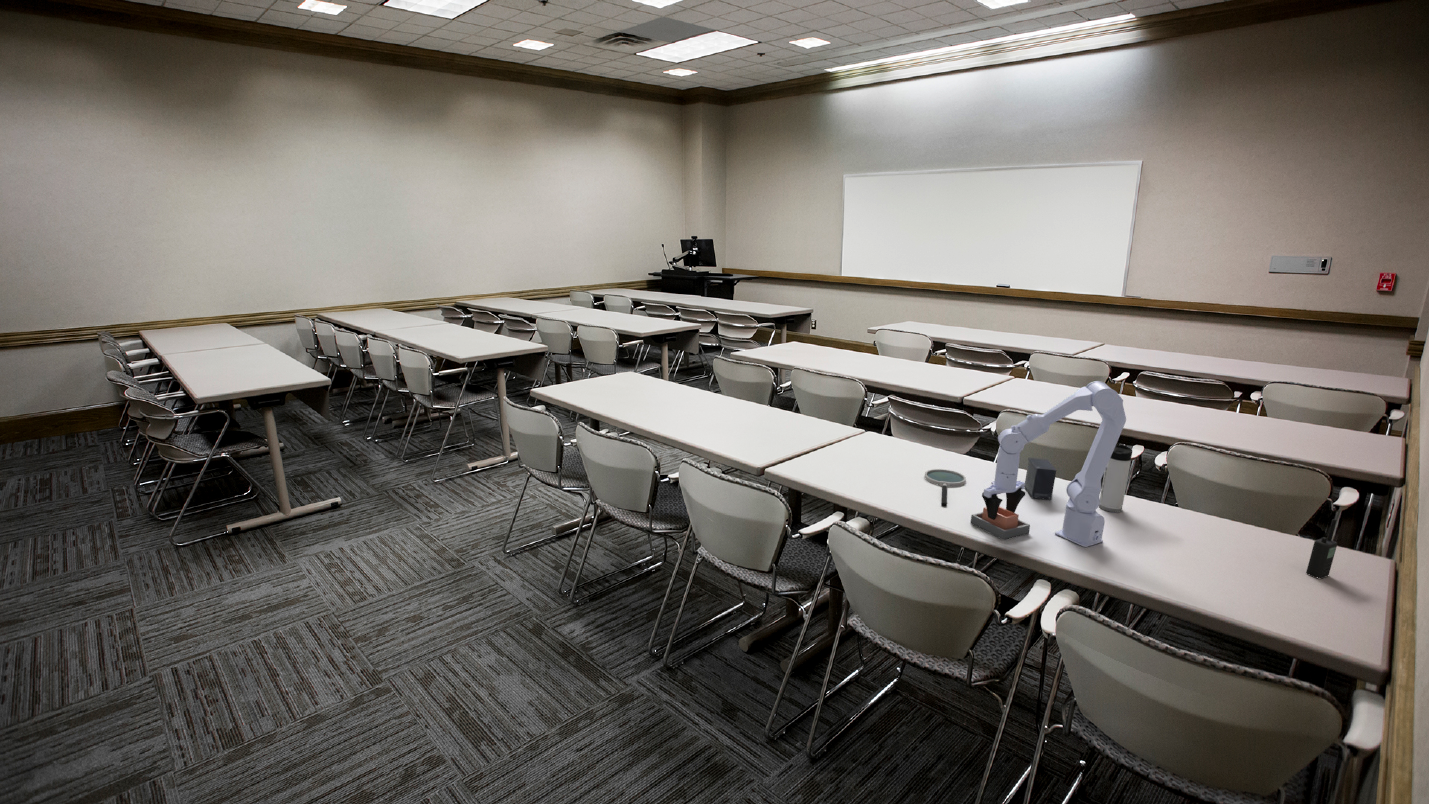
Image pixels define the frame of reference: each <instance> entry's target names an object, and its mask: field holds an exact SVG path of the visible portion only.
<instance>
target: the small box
mask: <svg viewBox="0 0 1429 804" xmlns="http://www.w3.org/2000/svg"><path fill="white" fill-rule="evenodd" d="M1027 460H1028V461H1027V468H1026V474H1025V480H1024V483H1025V487H1024V490H1025V491H1026V492H1027V493H1028V496H1029V497H1030V498H1031V499H1038V500H1047V501H1052V499H1053V492H1054V487H1055V481H1056V475H1057V469H1056V468H1055V466H1054V465H1053V464H1052V463H1051V461H1050V460H1049V459H1046V458H1045V459H1044V458H1036V457H1035V458H1034V457H1028V459H1027Z"/></svg>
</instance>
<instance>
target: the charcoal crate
mask: <svg viewBox="0 0 1429 804" xmlns="http://www.w3.org/2000/svg"><path fill="white" fill-rule="evenodd" d="M982 516H983V511H982V512H977V513H973V514H971V517H970V524H971V525H972V526H975V527H976V528H978V529H981V530H982V531H985V532H986V533H988V534H989V535H993V537H996V538H997V539H1000V540H1001V541H1006V540H1011V539H1014V538H1018V537H1022V536H1026V535H1029V533H1030V529H1031V524H1030V523H1028V522H1025V521H1023V520H1020V519H1019V518H1018V524H1017V527H1015V528H1011V529H1007V530H1003V529H1001V528H999V527H997V526H995V525H993V524H991V523H989V522H987V521H985V520H983V519H982Z"/></svg>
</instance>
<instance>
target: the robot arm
mask: <svg viewBox="0 0 1429 804" xmlns="http://www.w3.org/2000/svg"><path fill="white" fill-rule="evenodd" d="M1093 407H1094V408H1095V410H1096V411H1097V413H1098V415H1099V416H1100V417H1101V422H1100V424H1099V427H1098V430H1097V432H1096V434H1095V437H1094V438H1093V442H1092V443H1091V445H1090V449H1089V450H1088V453H1087V455H1086V459H1085V460H1084V463H1083V464H1082V465H1083V466H1082V468H1081V470H1080V471H1079V472H1078V473H1076V474H1075V475H1074V478H1073V480H1071V481H1070V482H1069V483H1068V485H1067V486H1066V494H1067V496H1068V497H1069V498H1068V500H1067V501H1066V505H1065V510H1064V511H1065V512H1064V517H1063V523H1062V528H1061V529H1060V530H1056V531H1055V532H1054V534H1055V535H1057V536H1060V537H1061V538H1063V539H1066V540H1067V541H1070V542H1072V543H1075V544H1077V545H1079V546H1081V547H1084V548H1087V547H1090V546H1093V545H1096V544H1100V543H1103V541H1104V540H1103V533H1104V529H1105V521H1106V520H1105V517H1104V516H1103V515H1102V514H1100V513H1099V512H1098V511H1096V510H1097V509H1098V508H1099V504H1100V495H1101V489H1102V478H1103V477H1104V472H1105V469H1106V467H1107V464H1108V462H1109V460H1110V457H1111V455H1112V453H1113V450H1114V448H1115V446H1116V445H1117V443H1118V441H1119V438H1120V436H1121V434H1122V432H1123V429H1124V426H1125V424H1126V421H1127V416H1126V412H1125V408H1124V399H1122V397H1121V396H1120V394H1119V393H1118V392H1117V390H1115V389H1112V388H1111V387H1110V386H1109V385H1108V384H1107V383H1105V382H1104V381H1101V380H1095V381H1091V382H1089V383H1087V385H1086V386H1082V387H1080V388H1079V389H1077V391H1075V392H1074V393H1073V394H1071V395H1070V396H1068V397H1066V398H1064V399H1063V400H1062V401H1060V402H1059V403H1058V404H1056V405H1055V406H1053V407H1051V408H1050V409H1049V410H1047V411H1046V412H1044V413H1042V414H1039V413H1034V414H1028V415H1027V416H1026V417H1025V418H1026V419H1024V420H1022V421H1020V422H1019V423H1016V425H1014V424H1012V425H1011V426H1010V428H1006V429H1003V430H1002V431H1001V432H1000V433H999V435H998V436H997V441H998V443H999V448H998V454H997V457H996V458H997V459H996V467H995V474H994V480H993V481H992V480H991V484H990V485H989V486H988V487H985V488H983V492H982V493H981V498H982V499H983V501H984V503H985V507H986V508H987V513H988V518H991V519H993V520H995V519H996V516H997V512H998V508H999V506H1000V505H1001V503H1002V502H1003V499H1002V498H999V496H998V495H1001V494H1005V498H1006V499H1005V501H1006V503H1005V506H1006V507H1005V509H1007V510H1009V511H1011V512H1013V513H1015V512H1016V510H1017V508H1018V506H1019V504H1020V502H1021V501H1022V499H1023V498H1025V496H1026V491H1024V490H1025V481H1021V480H1018V475H1019V474H1018V473H1019V466H1020V459H1021V458H1020V457H1021V456H1020V455H1021V452H1022V451H1023V450H1024V448H1025V445H1026V444H1029V443H1030V442H1032V441H1034V440H1035V439H1038V438H1039V437H1041V436H1042V435H1044V434H1046V433H1048V432H1049V430H1050V427H1051V425H1052V424H1054V423H1056V422H1058V421H1060V420H1061V419H1062V420H1063V418H1065V417H1067V416H1070V415H1072V414H1073V413H1074V412H1077V411H1088V412H1089V411H1090V412H1092V411H1093ZM1000 507H1001V506H1000Z"/></svg>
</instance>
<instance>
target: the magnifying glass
mask: <svg viewBox="0 0 1429 804" xmlns="http://www.w3.org/2000/svg"><path fill="white" fill-rule="evenodd" d="M925 478H926V479H925ZM924 479H925V480H926V481H927V482H929V481H930V482H929V483H931V484H933V483H934V485H936V484H938V485H937V486H940V485H941V506H942V507H948V487H949V488H951V487H961V486H963V485H964V484H966V482H967V481H966V480H967V479H966V476H965V475H964V474H963V473H961V472H958V471H956V470H950V469H944V468H943V469H942V468H933V469H928V470H927V471H925V473H924Z"/></svg>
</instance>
